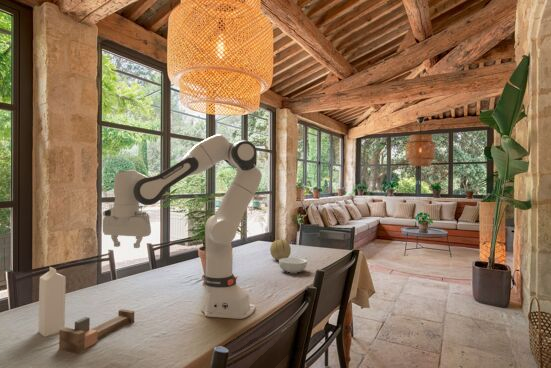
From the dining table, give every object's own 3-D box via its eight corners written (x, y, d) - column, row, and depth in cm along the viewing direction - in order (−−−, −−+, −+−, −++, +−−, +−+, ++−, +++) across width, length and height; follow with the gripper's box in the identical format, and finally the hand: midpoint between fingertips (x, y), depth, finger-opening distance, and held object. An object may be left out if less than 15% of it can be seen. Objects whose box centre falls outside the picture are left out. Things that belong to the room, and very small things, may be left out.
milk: (57, 326, 115) (59, 264, 115) (64, 330, 111) (66, 267, 112) (37, 332, 110) (39, 268, 110) (44, 337, 106) (46, 271, 107)
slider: (97, 342, 103) (97, 318, 103) (83, 349, 98) (84, 324, 98) (80, 338, 105) (80, 315, 105) (66, 345, 101) (66, 321, 101)
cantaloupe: (283, 263, 214) (284, 241, 214) (265, 260, 222) (266, 239, 222) (294, 259, 226) (295, 238, 226) (277, 256, 234) (277, 236, 234)
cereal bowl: (311, 271, 197) (311, 259, 197) (298, 277, 183) (298, 264, 183) (287, 266, 206) (287, 255, 206) (273, 272, 192) (273, 260, 192)
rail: (136, 322, 119) (136, 306, 119) (78, 354, 96) (79, 334, 96) (119, 319, 122) (119, 303, 122) (59, 349, 99) (59, 329, 99)
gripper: (154, 211, 124) (154, 247, 124) (112, 210, 130) (112, 244, 130) (143, 212, 118) (143, 250, 118) (99, 211, 124) (99, 247, 124)
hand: (126, 247), depth 124 cm, fingers open, 8 cm apart
